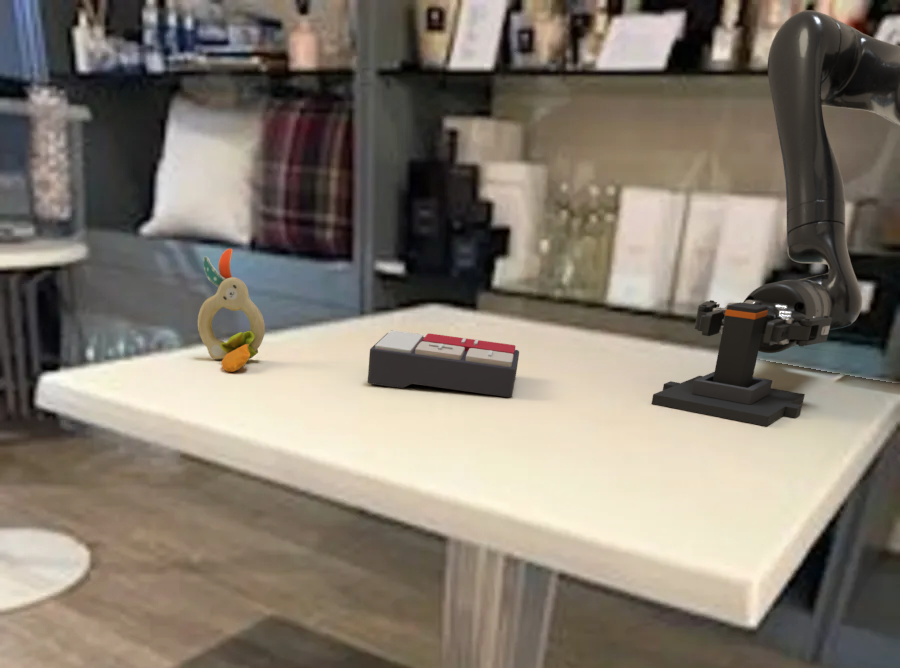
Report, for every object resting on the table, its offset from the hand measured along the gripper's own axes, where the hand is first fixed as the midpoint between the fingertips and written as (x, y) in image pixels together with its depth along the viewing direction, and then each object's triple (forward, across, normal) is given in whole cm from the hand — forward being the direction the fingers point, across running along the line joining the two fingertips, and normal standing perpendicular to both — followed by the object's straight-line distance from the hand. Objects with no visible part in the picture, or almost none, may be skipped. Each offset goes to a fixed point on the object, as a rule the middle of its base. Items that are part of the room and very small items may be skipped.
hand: (737, 329), depth 88 cm
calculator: (+13, -26, +8) cm, 30 cm away
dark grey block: (-2, 0, +7) cm, 7 cm away
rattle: (+25, -47, +8) cm, 54 cm away
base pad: (-2, 0, +8) cm, 8 cm away
